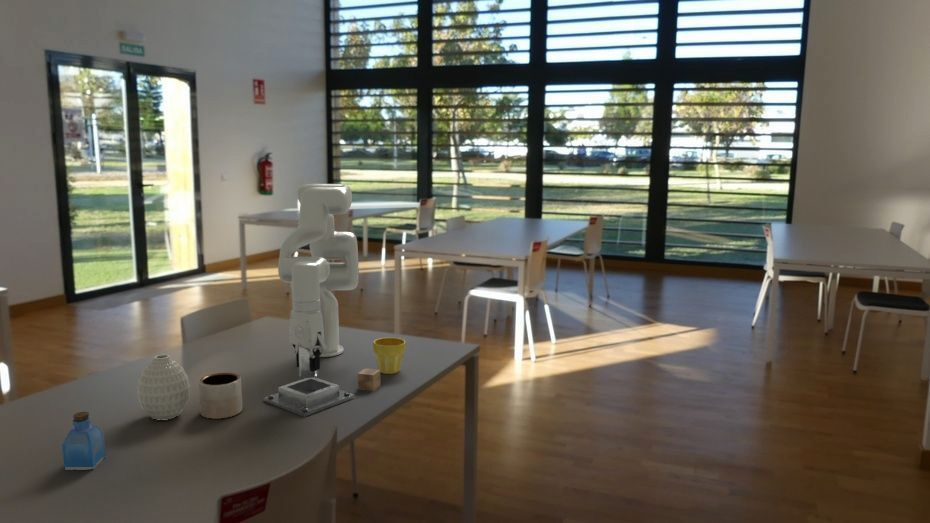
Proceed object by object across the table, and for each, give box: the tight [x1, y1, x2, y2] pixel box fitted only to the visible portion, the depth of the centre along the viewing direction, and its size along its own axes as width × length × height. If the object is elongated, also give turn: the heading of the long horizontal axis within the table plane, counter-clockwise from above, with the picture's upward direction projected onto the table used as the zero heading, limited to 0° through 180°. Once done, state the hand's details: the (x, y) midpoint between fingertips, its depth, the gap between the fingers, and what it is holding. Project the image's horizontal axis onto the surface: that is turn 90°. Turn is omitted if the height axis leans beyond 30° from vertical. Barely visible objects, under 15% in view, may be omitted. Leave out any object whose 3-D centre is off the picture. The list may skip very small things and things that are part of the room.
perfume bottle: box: [61, 411, 106, 468], centre depth 157 cm, size 6×6×12 cm
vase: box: [136, 353, 191, 420], centre depth 184 cm, size 13×13×17 cm
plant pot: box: [372, 336, 407, 375], centre depth 223 cm, size 10×10×10 cm
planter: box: [198, 372, 244, 420], centre depth 188 cm, size 11×11×10 cm
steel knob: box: [298, 343, 318, 379], centre depth 196 cm, size 6×6×10 cm
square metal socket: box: [262, 377, 355, 418], centre depth 198 cm, size 18×18×4 cm
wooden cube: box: [357, 367, 381, 392], centre depth 208 cm, size 5×5×5 cm
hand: (308, 367), depth 196 cm, fingers closed on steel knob, 5 cm apart
